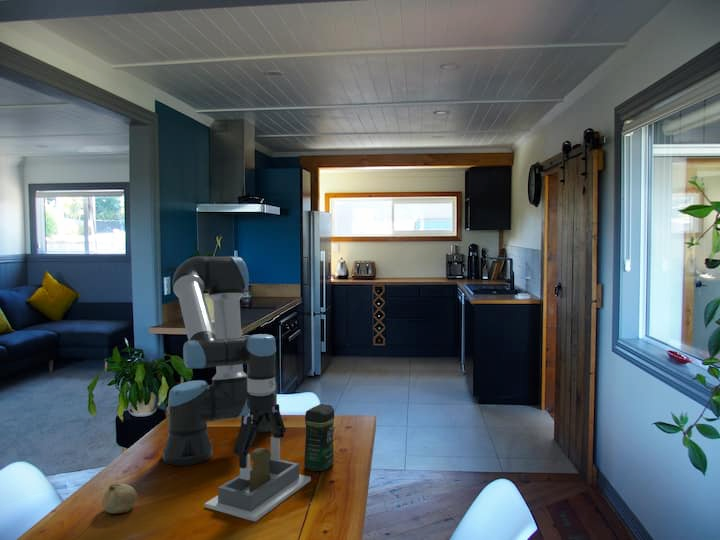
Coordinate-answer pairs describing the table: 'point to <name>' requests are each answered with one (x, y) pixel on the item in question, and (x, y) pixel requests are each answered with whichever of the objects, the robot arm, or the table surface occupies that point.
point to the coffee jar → (319, 438)
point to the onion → (119, 498)
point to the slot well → (258, 492)
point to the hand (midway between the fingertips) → (260, 469)
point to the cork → (260, 468)
